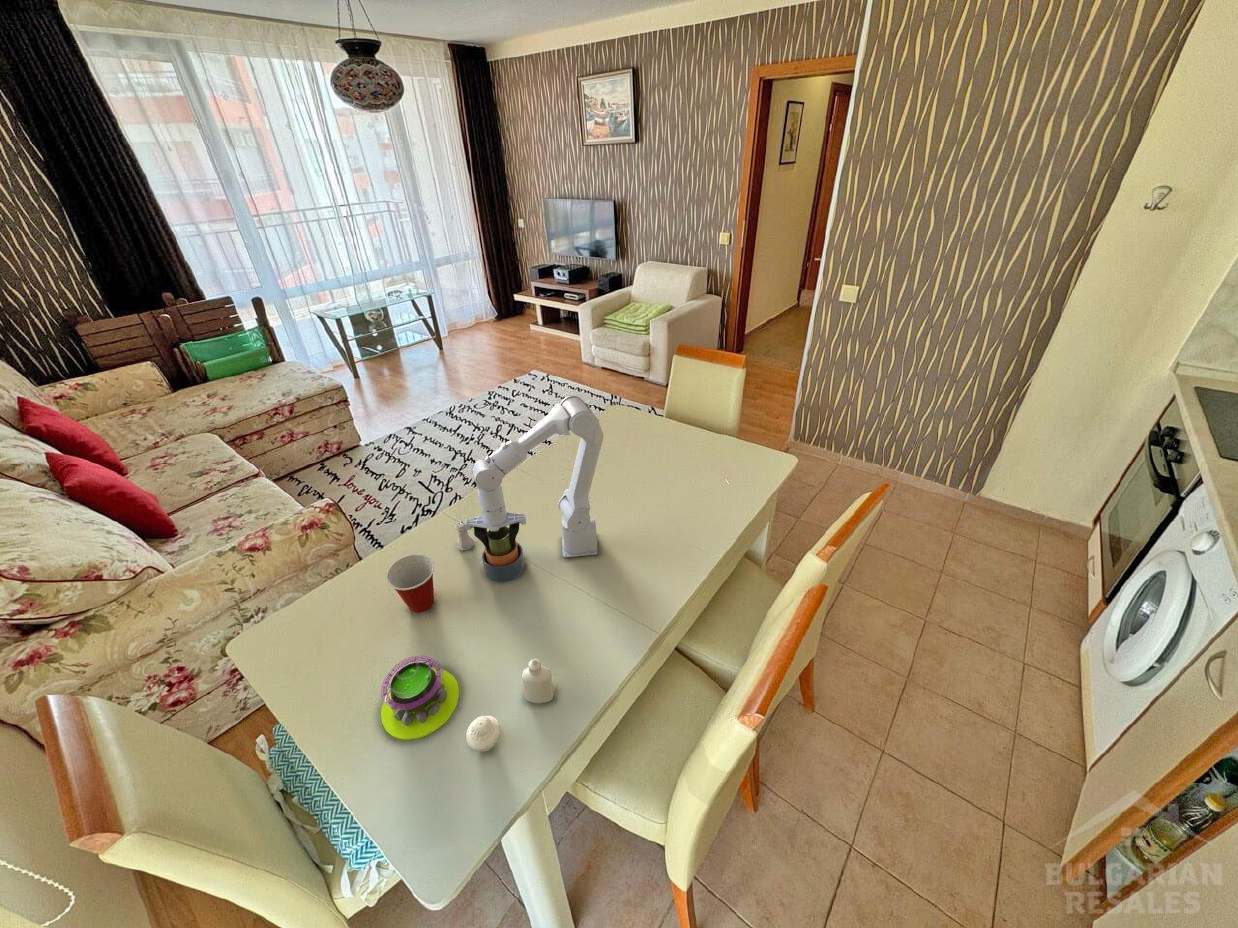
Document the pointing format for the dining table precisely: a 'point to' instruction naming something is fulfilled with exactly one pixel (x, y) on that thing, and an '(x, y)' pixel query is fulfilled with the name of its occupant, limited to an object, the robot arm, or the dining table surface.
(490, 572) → the stack big
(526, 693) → the eye dropper bottle
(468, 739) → the white rounded egg shape
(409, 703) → the toy cauldron
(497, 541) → the olive cup
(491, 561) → the stack mid
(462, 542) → the rook chess piece
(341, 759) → the dining table surface
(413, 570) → the plastic cup
